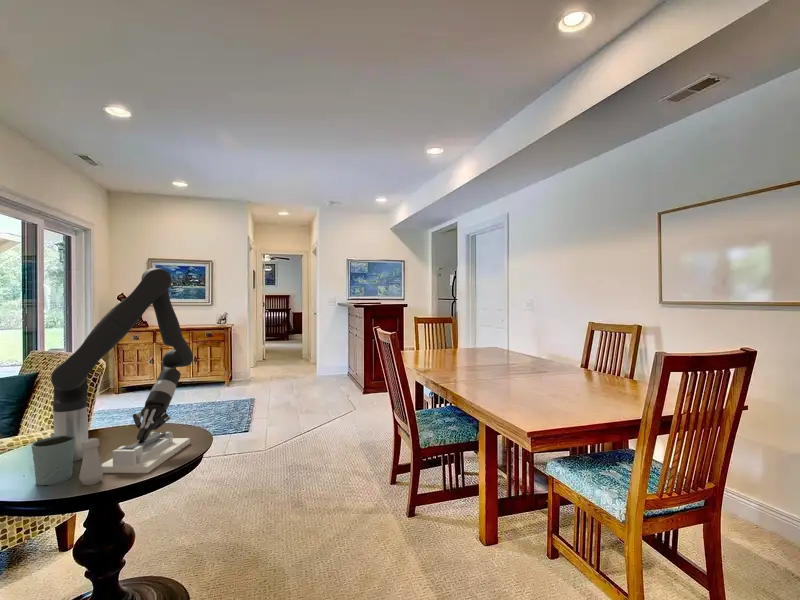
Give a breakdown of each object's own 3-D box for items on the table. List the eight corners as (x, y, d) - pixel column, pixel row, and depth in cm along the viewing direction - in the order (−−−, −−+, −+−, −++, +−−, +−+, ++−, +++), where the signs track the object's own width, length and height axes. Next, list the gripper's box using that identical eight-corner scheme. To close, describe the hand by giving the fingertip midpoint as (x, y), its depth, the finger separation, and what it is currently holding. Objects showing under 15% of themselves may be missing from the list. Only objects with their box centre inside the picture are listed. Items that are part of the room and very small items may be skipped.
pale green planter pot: (26, 489, 120) (25, 448, 120) (40, 475, 130) (39, 437, 129) (69, 483, 124) (68, 443, 124) (80, 469, 134) (79, 432, 133)
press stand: (97, 472, 131) (97, 451, 131) (147, 443, 156) (147, 425, 156) (147, 472, 131) (147, 451, 131) (189, 443, 156) (189, 425, 156)
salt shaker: (90, 487, 121) (89, 443, 121) (74, 486, 122) (73, 442, 122) (108, 478, 127) (107, 436, 127) (92, 477, 128) (91, 435, 128)
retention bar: (123, 451, 133) (123, 447, 133) (158, 435, 152) (158, 432, 152) (132, 451, 133) (132, 447, 133) (166, 435, 152) (166, 432, 152)
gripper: (138, 389, 149) (115, 435, 137) (174, 389, 149) (154, 435, 137) (148, 400, 155) (126, 445, 143) (183, 400, 154) (164, 445, 142)
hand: (140, 440), depth 140 cm, fingers closed
